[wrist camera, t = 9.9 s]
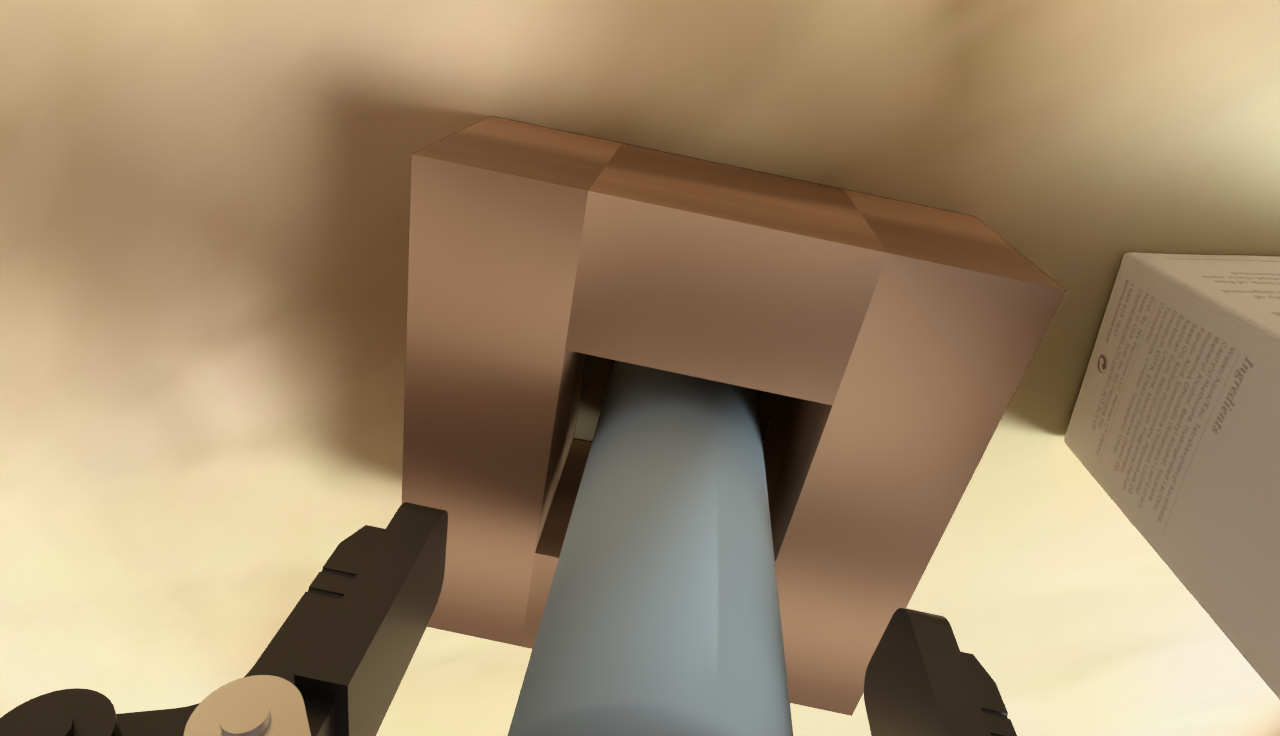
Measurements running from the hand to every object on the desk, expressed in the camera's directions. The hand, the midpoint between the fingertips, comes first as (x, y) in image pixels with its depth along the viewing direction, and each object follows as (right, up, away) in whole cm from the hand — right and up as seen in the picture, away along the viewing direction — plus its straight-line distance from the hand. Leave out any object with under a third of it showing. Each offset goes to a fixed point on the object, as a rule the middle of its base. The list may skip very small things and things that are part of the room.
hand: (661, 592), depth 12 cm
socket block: (+1, +4, +7) cm, 8 cm away
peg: (+1, +4, +7) cm, 8 cm away
